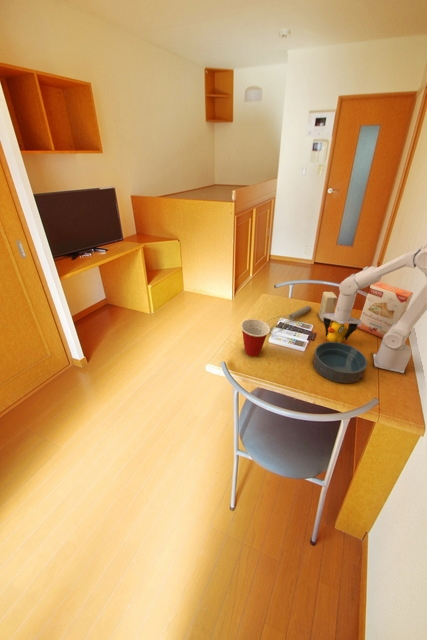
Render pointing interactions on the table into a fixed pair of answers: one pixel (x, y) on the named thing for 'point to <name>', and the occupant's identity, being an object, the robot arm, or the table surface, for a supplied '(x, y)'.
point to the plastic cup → (254, 335)
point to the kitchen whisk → (293, 315)
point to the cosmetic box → (327, 303)
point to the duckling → (336, 332)
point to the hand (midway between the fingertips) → (335, 336)
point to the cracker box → (383, 308)
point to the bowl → (339, 362)
